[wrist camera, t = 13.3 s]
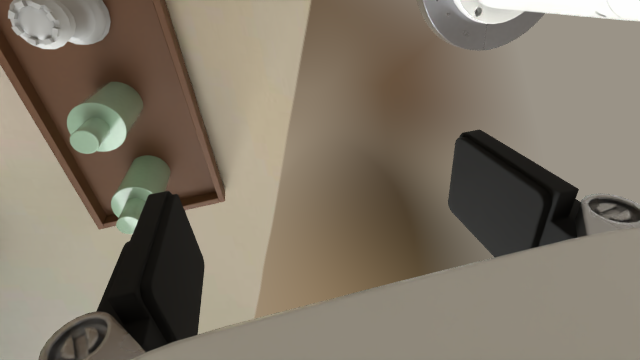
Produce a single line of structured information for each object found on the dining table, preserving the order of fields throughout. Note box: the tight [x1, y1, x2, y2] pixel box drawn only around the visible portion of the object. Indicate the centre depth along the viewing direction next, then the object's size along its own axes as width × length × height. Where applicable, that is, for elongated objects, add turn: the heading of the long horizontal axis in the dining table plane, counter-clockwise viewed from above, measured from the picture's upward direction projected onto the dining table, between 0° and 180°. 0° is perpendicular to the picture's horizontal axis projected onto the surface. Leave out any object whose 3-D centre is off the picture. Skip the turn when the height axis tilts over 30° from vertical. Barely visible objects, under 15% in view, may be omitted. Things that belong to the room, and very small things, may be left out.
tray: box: [0, 0, 225, 229], centre depth 31 cm, size 13×24×2 cm, turn 6°
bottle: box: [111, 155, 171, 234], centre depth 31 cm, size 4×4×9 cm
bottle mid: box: [67, 82, 143, 154], centre depth 27 cm, size 4×4×9 cm
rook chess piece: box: [8, 0, 111, 49], centre depth 24 cm, size 4×4×8 cm
